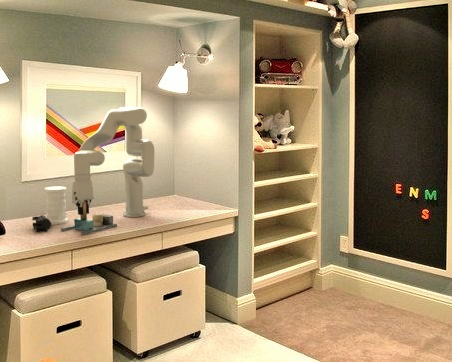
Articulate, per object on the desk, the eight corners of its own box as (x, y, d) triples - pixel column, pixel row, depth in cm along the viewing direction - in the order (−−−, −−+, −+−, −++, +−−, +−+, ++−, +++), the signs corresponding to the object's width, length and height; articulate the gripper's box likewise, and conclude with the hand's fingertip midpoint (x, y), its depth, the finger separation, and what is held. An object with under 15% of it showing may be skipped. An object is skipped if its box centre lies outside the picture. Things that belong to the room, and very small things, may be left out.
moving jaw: (79, 227, 283) (78, 200, 281) (93, 230, 278) (92, 202, 276) (74, 228, 281) (73, 201, 278) (88, 231, 275) (88, 203, 273)
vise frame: (95, 222, 296) (95, 212, 295) (117, 226, 288) (117, 216, 287) (61, 230, 277) (60, 220, 276) (83, 235, 269) (83, 225, 268)
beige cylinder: (97, 224, 290) (97, 213, 289) (104, 226, 288) (104, 214, 287) (90, 226, 286) (90, 215, 285) (97, 228, 283) (97, 216, 283)
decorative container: (72, 220, 299) (71, 187, 296) (57, 225, 288) (56, 190, 286) (55, 218, 304) (54, 185, 301) (40, 222, 293) (38, 188, 291)
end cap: (51, 231, 276) (51, 217, 275) (36, 233, 272) (36, 219, 271) (47, 227, 285) (46, 214, 283) (32, 228, 281) (32, 215, 280)
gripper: (89, 174, 284) (90, 210, 287) (64, 178, 270) (65, 216, 273) (100, 176, 280) (101, 212, 283) (75, 180, 266) (76, 218, 269)
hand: (83, 213), depth 278 cm, fingers closed on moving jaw, 3 cm apart
